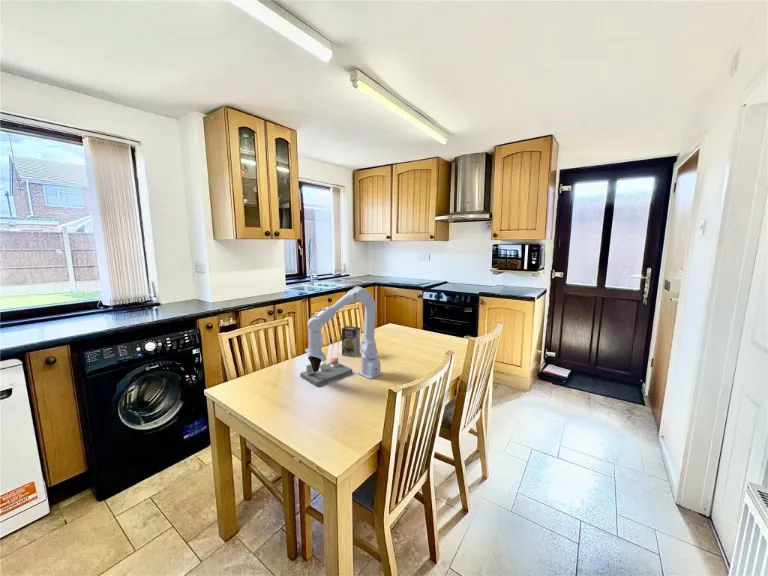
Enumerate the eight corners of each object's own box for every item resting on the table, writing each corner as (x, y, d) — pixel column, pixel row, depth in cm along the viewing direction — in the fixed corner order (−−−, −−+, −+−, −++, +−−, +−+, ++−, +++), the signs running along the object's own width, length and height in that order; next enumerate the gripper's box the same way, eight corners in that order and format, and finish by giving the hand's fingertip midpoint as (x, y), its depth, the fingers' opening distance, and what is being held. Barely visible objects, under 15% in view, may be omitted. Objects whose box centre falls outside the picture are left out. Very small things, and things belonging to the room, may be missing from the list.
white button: (327, 367, 154) (327, 363, 154) (321, 369, 152) (321, 365, 151) (323, 365, 157) (323, 361, 156) (317, 367, 154) (317, 363, 154)
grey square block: (315, 373, 150) (315, 364, 149) (308, 375, 147) (308, 366, 146) (312, 371, 152) (312, 362, 151) (305, 373, 149) (305, 365, 148)
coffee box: (341, 355, 179) (341, 328, 176) (346, 351, 185) (346, 325, 182) (355, 357, 176) (355, 330, 173) (360, 353, 182) (360, 327, 179)
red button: (339, 363, 160) (339, 359, 159) (333, 364, 157) (333, 361, 157) (335, 361, 162) (335, 357, 162) (329, 362, 159) (329, 359, 159)
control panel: (352, 373, 156) (352, 369, 155) (316, 386, 141) (316, 382, 140) (335, 364, 165) (335, 361, 165) (300, 376, 150) (300, 372, 150)
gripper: (299, 341, 146) (300, 368, 148) (316, 349, 136) (317, 378, 138) (312, 338, 151) (313, 364, 153) (329, 345, 141) (330, 373, 143)
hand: (315, 371), depth 146 cm, fingers closed
